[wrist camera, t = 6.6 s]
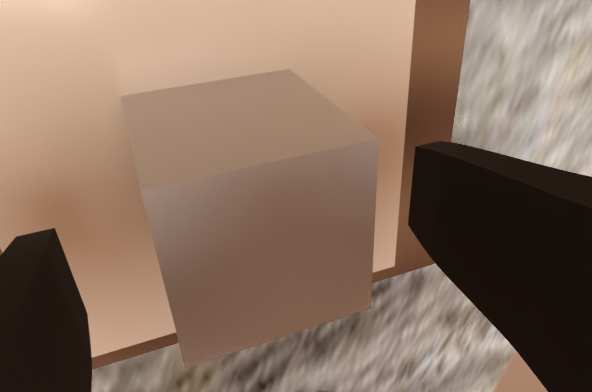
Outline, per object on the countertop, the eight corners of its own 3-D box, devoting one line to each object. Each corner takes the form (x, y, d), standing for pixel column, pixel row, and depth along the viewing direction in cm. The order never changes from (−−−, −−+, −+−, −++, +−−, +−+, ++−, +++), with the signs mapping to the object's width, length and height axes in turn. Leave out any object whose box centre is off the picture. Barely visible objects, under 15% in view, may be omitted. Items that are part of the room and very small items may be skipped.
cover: (380, 249, 18) (479, 363, 13) (58, 342, 15) (46, 532, 10) (401, -105, 12) (591, -113, 7) (-129, -74, 9) (-344, -57, 4)
